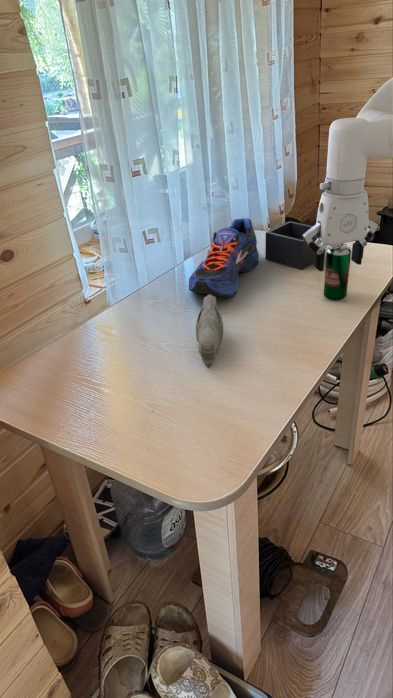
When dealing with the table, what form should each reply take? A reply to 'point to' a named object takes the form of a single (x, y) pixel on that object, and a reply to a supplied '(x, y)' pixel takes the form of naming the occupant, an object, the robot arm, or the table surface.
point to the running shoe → (226, 260)
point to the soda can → (337, 271)
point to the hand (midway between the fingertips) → (337, 265)
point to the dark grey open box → (289, 245)
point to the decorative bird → (209, 330)
